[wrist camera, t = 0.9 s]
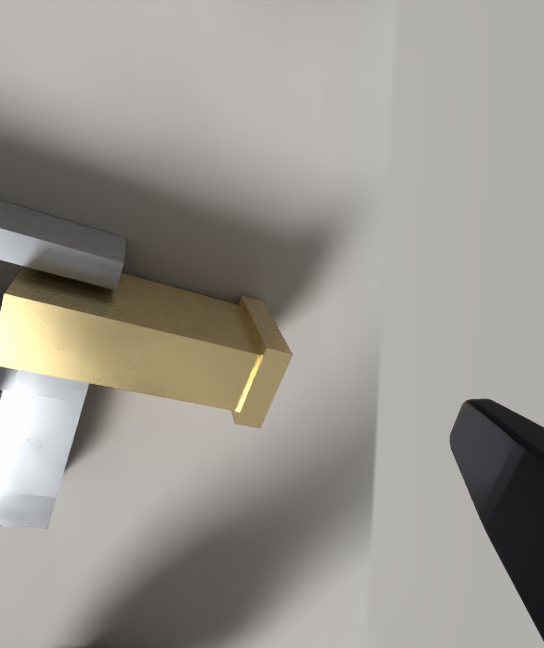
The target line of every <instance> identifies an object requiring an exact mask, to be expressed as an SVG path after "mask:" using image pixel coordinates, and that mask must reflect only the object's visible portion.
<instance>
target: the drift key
mask: <svg viewBox="0 0 544 648" xmlns="http://www.w3.org/2000/svg"><path fill="white" fill-rule="evenodd" d="M292 355H293V354H292V352H291V350H290V349H289V347H288V345H287V343H286V341H285V340H284V338H283V336H282V334H281V332H280V331H279V329H278V327H277V325H276V323H275V322H274V320H273V318H272V316H271V314H270V313H269V311H268V309H267V307H266V305H265V304H264V302H263V301H261V300H257V299H254V298H250V297H247V296H243V295H242V296H241V298H240V301H239V304H238V305H237V304H233V303H230V302H226V301H222V300H219V299H215V298H211V297H208V296H204V295H200V294H197V293H193V292H190V291H186V290H182V289H179V288H175V287H171V286H168V285H164V284H160V283H157V282H153V281H150V280H146V279H142V278H139V277H135V276H131V275H128V274H124V273H121V275H120V279H119V282H118V286H117V289H116V290H113V289H109V288H105V287H102V286H98V285H94V284H90V283H86V282H82V281H79V280H75V279H71V278H67V277H63V276H59V275H56V274H52V273H48V272H44V271H40V270H37V269H33V268H29V267H25V266H22V268H21V269H20V271H19V272H18V274H17V275H16V277H15V278H14V280H13V281H12V283H11V284H10V286H9V287H8V289H7V290H6V292H5V293H4V297H3V302H2V307H1V312H0V366H2V367H7V368H12V369H18V370H23V371H28V372H33V373H39V374H44V375H49V376H54V377H60V378H65V379H70V380H75V381H81V382H86V383H91V384H96V385H101V386H107V387H112V388H117V389H122V390H128V391H133V392H138V393H143V394H149V395H154V396H159V397H164V398H170V399H175V400H180V401H185V402H191V403H196V404H201V405H206V406H212V407H217V408H222V409H227V410H231V411H232V415H233V419H234V422H235V424H239V425H245V426H250V427H256V428H260V427H261V425H262V423H263V421H264V418H265V416H266V414H267V412H268V409H269V407H270V405H271V403H272V400H273V398H274V396H275V394H276V391H277V389H278V387H279V384H280V382H281V380H282V378H283V375H284V373H285V371H286V369H287V366H288V364H289V362H290V360H291V357H292Z"/></svg>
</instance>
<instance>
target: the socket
mask: <svg viewBox="0 0 544 648" xmlns="http://www.w3.org/2000/svg"><path fill="white" fill-rule="evenodd" d="M126 240H127V238H124V237H120V236H117V235H114V234H110V233H107V232H104V231H100V230H97V229H94V228H90V227H87V226H84V225H80V224H77V223H74V222H70V221H67V220H64V219H60V218H57V217H54V216H51V215H47V214H44V213H41V212H37V211H34V210H31V209H27V208H24V207H21V206H17V205H14V204H11V203H7V202H4V201H1V200H0V260H2V261H6V262H10V263H14V264H17V265H21V266H25V267H29V268H33V269H37V270H40V271H44V272H48V273H52V274H56V275H59V276H63V277H67V278H71V279H75V280H79V281H82V282H86V283H90V284H94V285H98V286H102V287H105V288H109V289H113V290H116V289H117V286H118V282H119V279H120V275H121V272H122V268H123V265H124V258H125V249H126ZM1 307H2V306H1V305H0V312H1ZM88 386H89V383H86V382H81V381H75V380H70V379H65V378H60V377H54V376H49V375H44V374H39V373H33V372H28V371H23V370H18V369H12V368H7V367H2V366H0V390H3V392H2V397H1V401H0V525H7V526H18V527H30V528H42V529H48V525H49V522H50V518H51V515H52V511H53V508H54V504H55V501H56V497H57V494H58V491H59V487H60V484H61V480H62V477H63V473H64V470H65V466H66V463H67V459H68V456H69V452H70V449H71V445H72V442H73V438H74V435H75V432H76V428H77V425H78V421H79V418H80V414H81V411H82V407H83V404H84V400H85V397H86V393H87V390H88Z"/></svg>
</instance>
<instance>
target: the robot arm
mask: <svg viewBox="0 0 544 648" xmlns="http://www.w3.org/2000/svg"><path fill="white" fill-rule="evenodd" d="M450 446H451V450H452V452H453V455H454V457H455V460H456V462H457V464H458V467H459V469H460V472H461V474H462V476H463V479H464V481H465V484H466V486H467V488H468V491H469V493H470V495H471V498H472V501H473V503H474V505H475V508H476V510H477V513H478V515H479V517H480V520H481V522H482V524H483V526H484V529H485V530H486V533H487V535H488V537H489V539H490V541H491V543H492V544H493V546H494V548H495V550H496V552H497V554H498V556H499V558H500V560H501V561H502V563H503V565H504V567H505V569H506V571H507V573H508V575H509V577H510V579H511V580H512V582H513V584H514V586H515V588H516V590H517V592H518V593H519V595H520V597H521V599H522V601H523V603H524V605H525V607H526V609H527V611H528V613H529V614H530V616H531V618H532V620H533V622H534V624H535V626H536V628H537V630H538V631H539V633H540V635H541V637H542V639H543V641H544V427H542V426H540V425H538V424H536V423H534V422H532V421H531V420H529V419H527V418H525V417H523V416H521V415H519V414H517V413H515V412H513V411H511V410H510V409H508V408H506V407H504V406H502V405H500V404H498V403H496V402H494V401H492V400H490V399H470V400H467V401H465V402H464V403H463V404H462V406H461V409H460V412H459V414H458V416H457V419H456V421H455V424H454V426H453V429H452V431H451V435H450Z"/></svg>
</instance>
